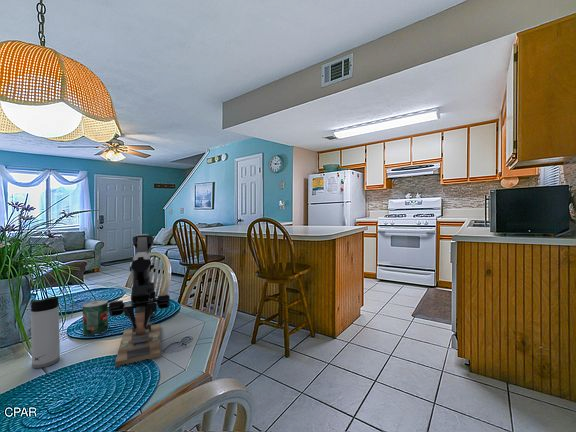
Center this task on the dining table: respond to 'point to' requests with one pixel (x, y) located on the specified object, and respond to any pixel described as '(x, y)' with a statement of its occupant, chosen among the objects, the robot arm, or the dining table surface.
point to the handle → (140, 326)
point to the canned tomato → (95, 317)
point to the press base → (139, 346)
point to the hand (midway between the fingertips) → (140, 328)
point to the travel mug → (45, 332)
